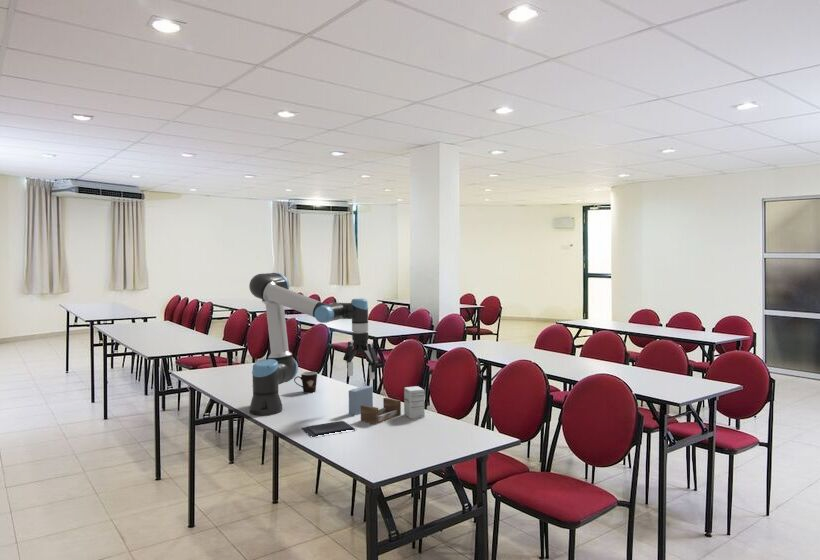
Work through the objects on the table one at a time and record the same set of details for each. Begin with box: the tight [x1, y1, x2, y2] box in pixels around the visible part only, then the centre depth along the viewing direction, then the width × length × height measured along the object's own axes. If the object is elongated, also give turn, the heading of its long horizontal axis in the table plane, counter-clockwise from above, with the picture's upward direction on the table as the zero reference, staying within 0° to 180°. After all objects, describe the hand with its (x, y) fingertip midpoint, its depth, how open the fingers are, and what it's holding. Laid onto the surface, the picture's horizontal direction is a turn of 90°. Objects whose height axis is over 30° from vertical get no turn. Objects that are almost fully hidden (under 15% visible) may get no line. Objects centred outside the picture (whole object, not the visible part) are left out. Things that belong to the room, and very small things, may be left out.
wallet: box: [301, 420, 356, 437], centre depth 234 cm, size 20×2×15 cm
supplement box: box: [403, 385, 425, 420], centre depth 253 cm, size 7×7×13 cm
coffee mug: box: [293, 371, 318, 394], centre depth 299 cm, size 12×9×10 cm
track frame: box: [360, 397, 402, 425], centre depth 250 cm, size 17×9×7 cm, turn 142°
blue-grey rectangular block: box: [348, 385, 374, 416], centre depth 260 cm, size 12×4×11 cm, turn 142°
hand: (361, 377), depth 259 cm, fingers open, 13 cm apart
